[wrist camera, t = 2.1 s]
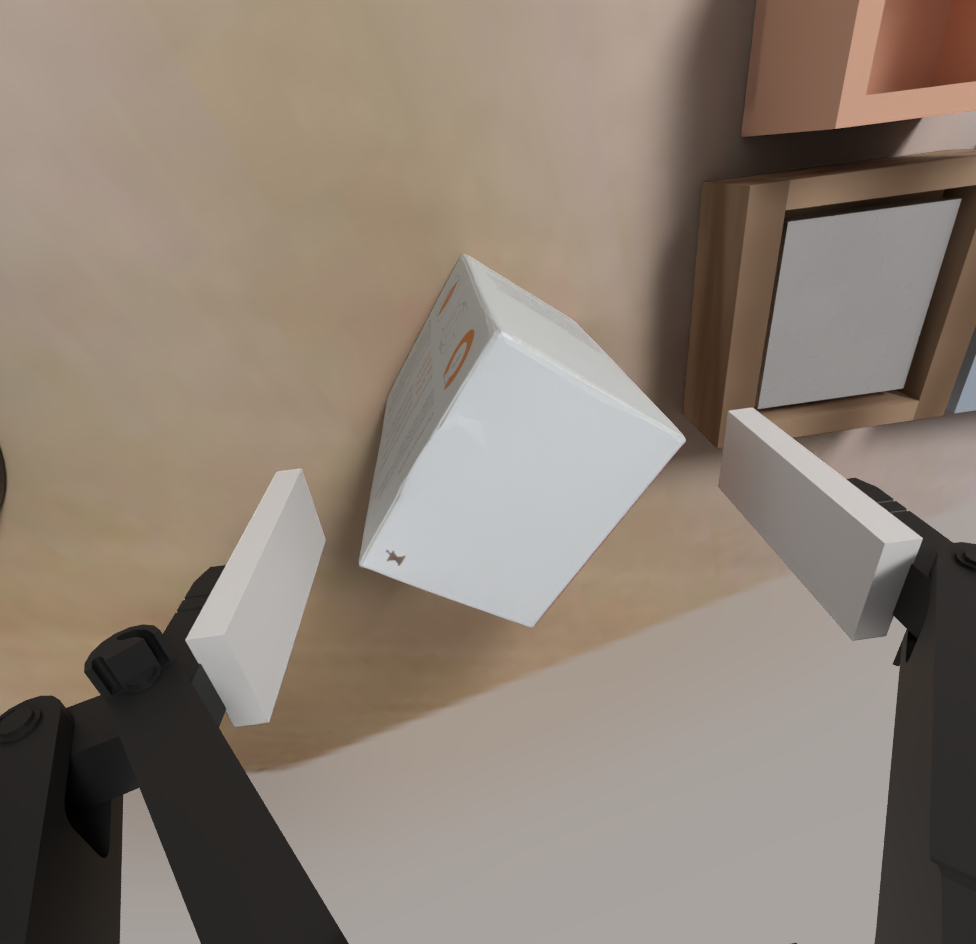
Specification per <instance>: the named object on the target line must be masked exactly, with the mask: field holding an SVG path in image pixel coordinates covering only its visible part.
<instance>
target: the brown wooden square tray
mask: <svg viewBox="0 0 976 944" xmlns="http://www.w3.org/2000/svg"><path fill="white" fill-rule="evenodd" d="M933 197H946V198H961V199H962V200H961V203H960V206H959V209H958V213H957V216H956V219H955V222H954V226H953V229H952V232H951V235H950V239H949V242H948V245H947V248H946V252H945V255H944V258H943V261H942V265H941V268H940V271H939V274H938V278H937V281H936V284H935V287H934V290H933V294H932V297H931V300H930V303H929V307H928V310H927V313H926V316H925V320H924V323H923V326H922V329H921V333H920V336H919V339H918V342H917V346H916V349H915V352H914V355H913V359H912V362H911V365H910V368H909V371H908V375H907V378H906V381H905V384H904V388H903V389H896V390H889V391H882V392H875V393H868V394H861V395H854V396H847V397H839V398H832V399H825V400H818V401H811V402H804V403H797V404H790V405H783V406H776V407H769V408H762V409H757V408H756V407H754V406H755V400H756V394H757V387H758V381H759V375H760V368H761V362H762V356H763V349H764V343H765V337H766V330H767V324H768V318H769V312H770V305H771V299H772V293H773V286H774V280H775V274H776V267H777V261H778V255H779V248H780V242H781V236H782V230H783V223H784V217H791V216H798V215H806V214H813V213H821V212H828V211H835V210H843V209H850V208H858V207H865V206H873V205H880V204H888V203H895V202H903V201H910V200H918V199H925V198H933ZM975 326H976V149H960V150H944V151H936V152H929V153H921V154H914V155H906V156H898V157H891V158H883V159H876V160H868V161H860V162H853V163H845V164H838V165H830V166H823V167H815V168H807V169H800V170H792V171H785V172H777V173H769V174H762V175H754V176H747V177H739V178H732V179H724V180H716V181H709V182H702V193H701V205H700V217H699V229H698V240H697V252H696V264H695V276H694V288H693V300H692V312H691V324H690V335H689V347H688V359H687V371H686V383H685V395H684V407H683V415H684V416H685V417H686V418H687V419H688V420H689V421H690V422H691V423H692V424H693V425H694V426H695V427H696V428H697V429H698V430H699V431H700V432H701V433H702V434H703V435H705V436H706V437H707V438H708V439H709V440H710V441H711V442H712V443H713V444H714V445H715V446H716V447H717V448H723V446H724V438H725V430H726V422H727V414H728V411H729V410H737V409H744V408H752V407H753V408H754V409H755V410H757V411H758V412H759V413H761V414H762V415H763V416H764V417H766V418H767V419H768V420H770V421H771V422H772V423H774V424H775V425H776V426H777V427H779V428H780V429H781V430H783V431H784V432H785V433H787V434H788V435H789V436H791V437H792V438H793V437H800V436H807V435H814V434H821V433H828V432H835V431H842V430H849V429H856V428H863V427H870V426H877V425H884V424H891V423H898V422H905V421H912V420H918V419H925V418H932V417H939V416H943V415H944V412H945V410H946V407H947V404H948V401H949V399H950V396H951V393H952V390H953V387H954V385H955V382H956V379H957V376H958V374H959V371H960V368H961V365H962V362H963V360H964V357H965V354H966V351H967V348H968V346H969V343H970V340H971V337H972V335H973V332H974V329H975Z"/></svg>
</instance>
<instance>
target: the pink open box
mask: <svg viewBox="0 0 976 944" xmlns="http://www.w3.org/2000/svg"><path fill="white" fill-rule="evenodd" d="M968 111H976V0H756V8H755V17H754V26H753V35H752V44H751V53H750V61H749V70H748V79H747V88H746V97H745V106H744V115H743V124H742V132H741V137H748V136H759V135H771V134H782V133H794V132H805V131H816V130H828V129H838V128H846V127H853V126H861V125H869V124H876V123H884V122H892V121H899V120H907V119H915V118H922V117H930V116H938V115H945V114H953V113H961V112H968Z"/></svg>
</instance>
